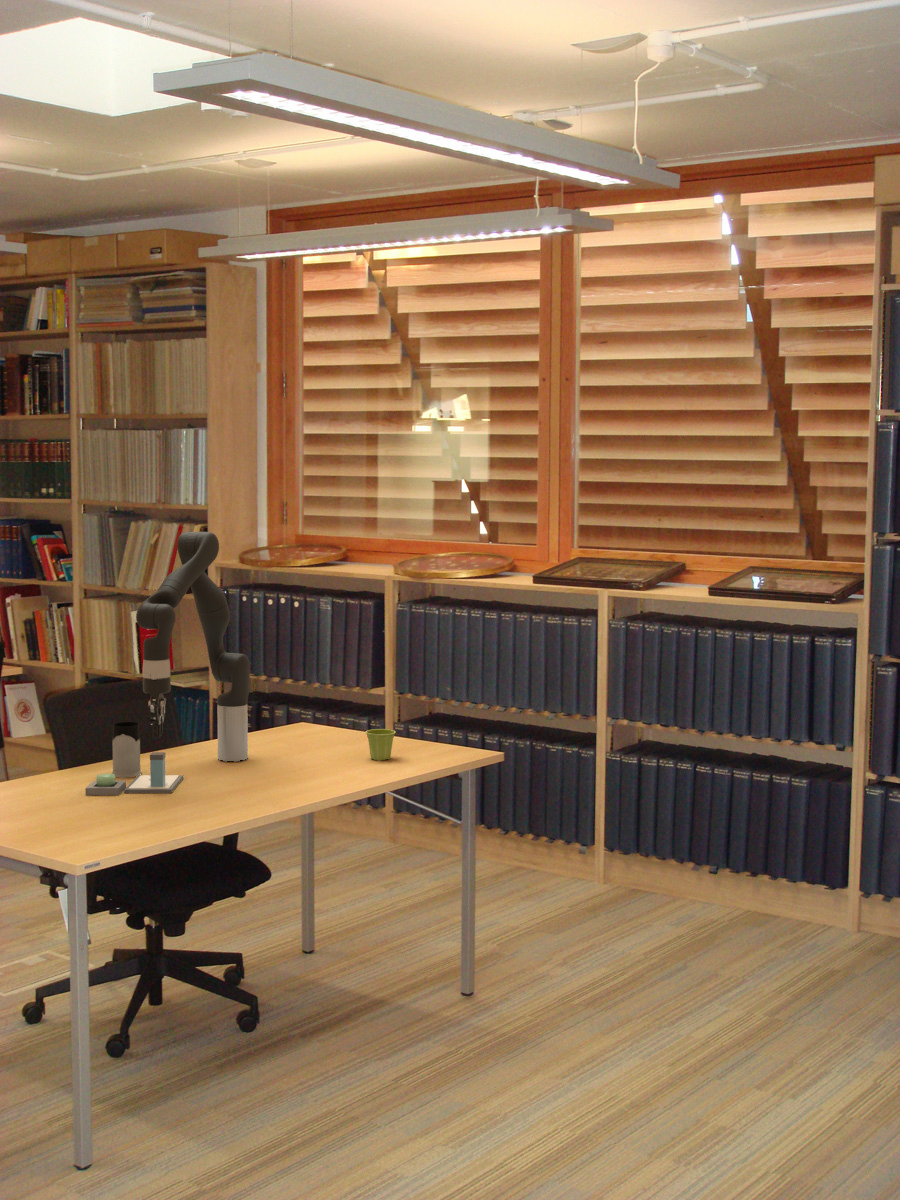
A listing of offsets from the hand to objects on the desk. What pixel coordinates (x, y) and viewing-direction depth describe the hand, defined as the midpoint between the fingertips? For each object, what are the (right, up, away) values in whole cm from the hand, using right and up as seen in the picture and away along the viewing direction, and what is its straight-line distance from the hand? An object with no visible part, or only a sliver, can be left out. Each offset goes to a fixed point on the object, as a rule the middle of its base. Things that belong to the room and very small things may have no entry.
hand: (157, 736), depth 358 cm
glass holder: (-14, -13, +23) cm, 30 cm away
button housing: (-14, -15, -1) cm, 21 cm away
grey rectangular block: (0, -14, +1) cm, 14 cm away
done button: (-14, -13, -1) cm, 19 cm away
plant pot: (+60, -12, +45) cm, 76 cm away
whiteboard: (-2, -15, +6) cm, 16 cm away
